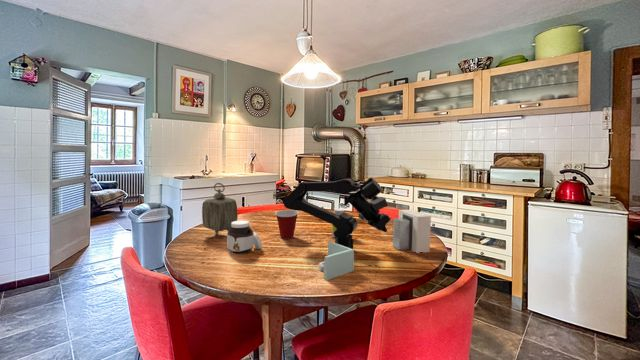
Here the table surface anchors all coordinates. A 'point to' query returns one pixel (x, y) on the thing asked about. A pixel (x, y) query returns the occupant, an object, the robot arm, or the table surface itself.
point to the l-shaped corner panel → (337, 261)
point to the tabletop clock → (219, 212)
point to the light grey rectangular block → (402, 233)
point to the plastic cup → (286, 223)
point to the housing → (418, 230)
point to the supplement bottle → (338, 211)
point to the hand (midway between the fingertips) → (386, 231)
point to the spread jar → (242, 238)
